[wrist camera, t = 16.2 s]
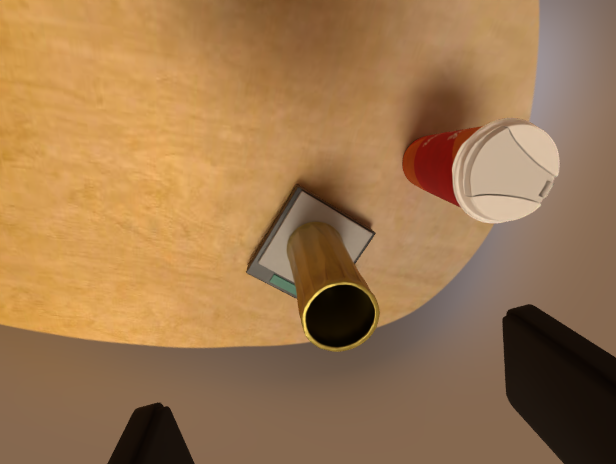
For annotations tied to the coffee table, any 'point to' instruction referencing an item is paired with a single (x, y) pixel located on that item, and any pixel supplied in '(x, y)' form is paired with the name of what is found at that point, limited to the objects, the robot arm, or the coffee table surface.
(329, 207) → the scale
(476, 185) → the paper cup
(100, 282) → the coffee table surface
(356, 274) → the vase
